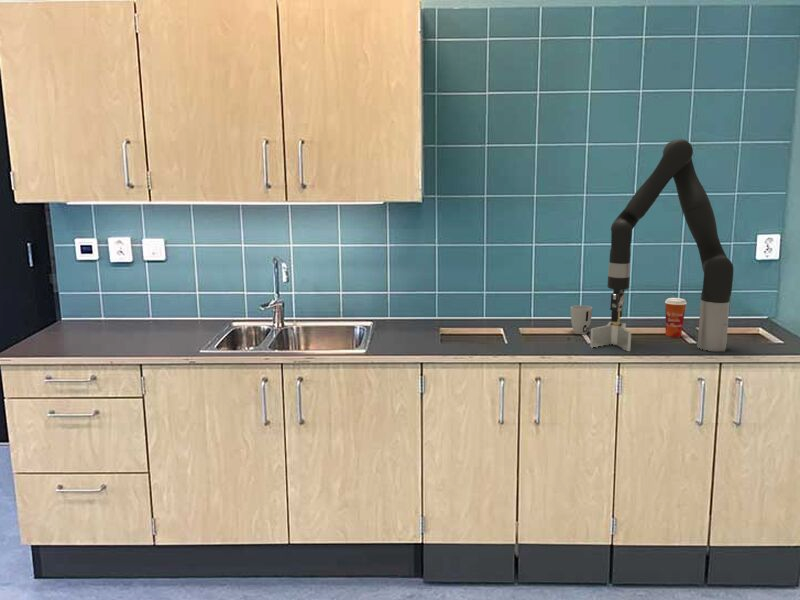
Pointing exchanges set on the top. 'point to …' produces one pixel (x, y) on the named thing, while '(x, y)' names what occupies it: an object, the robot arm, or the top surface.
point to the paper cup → (674, 316)
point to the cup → (581, 318)
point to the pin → (618, 318)
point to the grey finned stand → (611, 336)
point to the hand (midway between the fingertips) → (616, 319)
